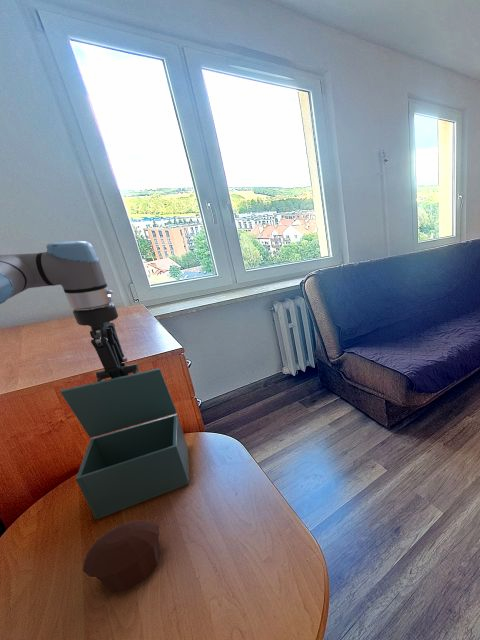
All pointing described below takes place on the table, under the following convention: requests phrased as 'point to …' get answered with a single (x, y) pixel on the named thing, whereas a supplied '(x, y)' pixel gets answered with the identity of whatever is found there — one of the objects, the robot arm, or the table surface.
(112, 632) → the table surface
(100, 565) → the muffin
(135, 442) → the chest
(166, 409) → the lid
